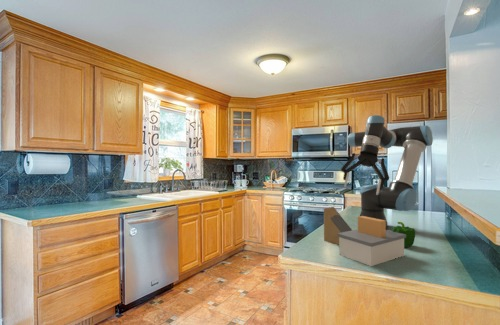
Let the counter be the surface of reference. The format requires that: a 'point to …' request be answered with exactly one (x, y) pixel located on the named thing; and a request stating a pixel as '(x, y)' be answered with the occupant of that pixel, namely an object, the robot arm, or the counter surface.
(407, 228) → the bell pepper
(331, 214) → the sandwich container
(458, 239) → the counter surface
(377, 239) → the lid
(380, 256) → the tub
